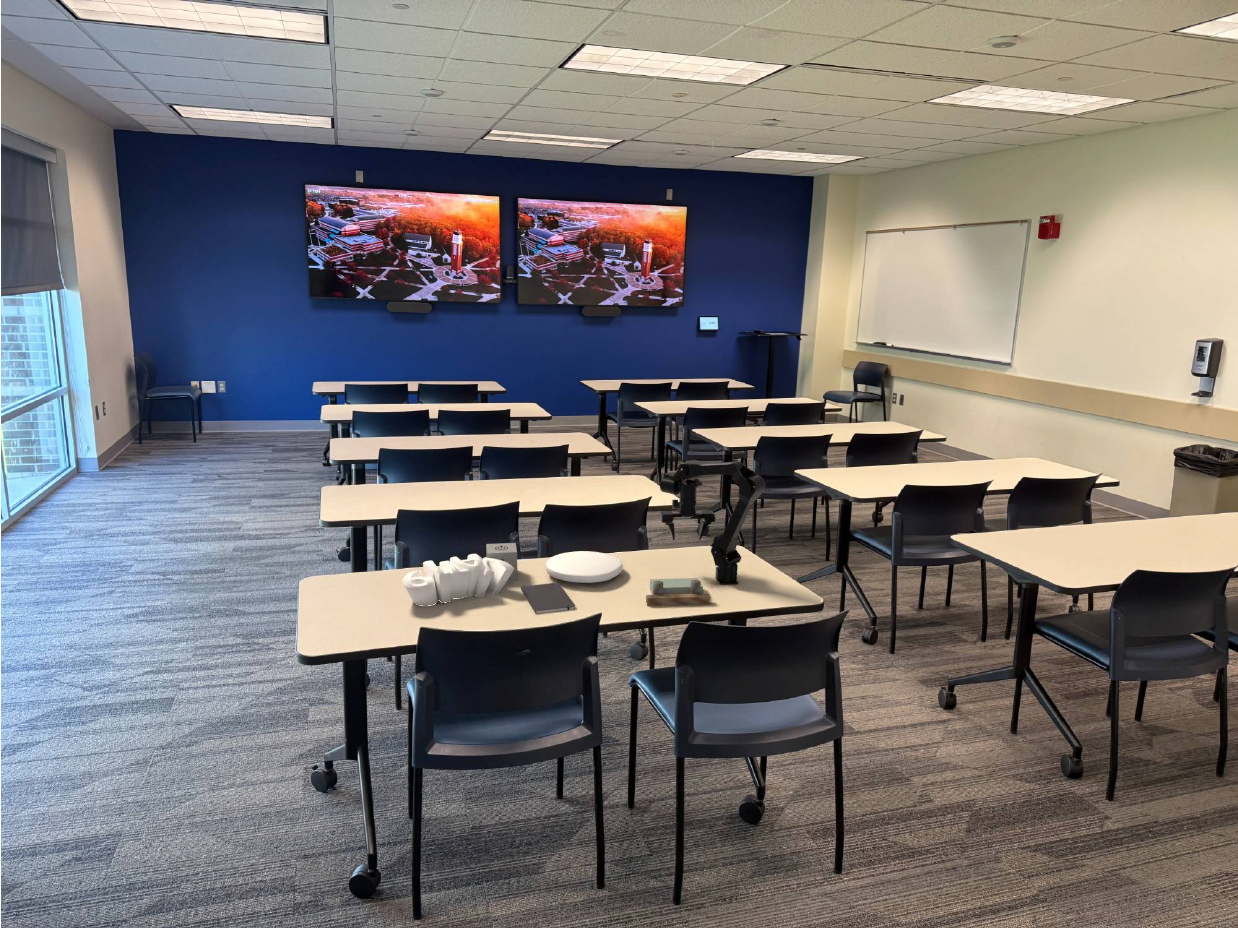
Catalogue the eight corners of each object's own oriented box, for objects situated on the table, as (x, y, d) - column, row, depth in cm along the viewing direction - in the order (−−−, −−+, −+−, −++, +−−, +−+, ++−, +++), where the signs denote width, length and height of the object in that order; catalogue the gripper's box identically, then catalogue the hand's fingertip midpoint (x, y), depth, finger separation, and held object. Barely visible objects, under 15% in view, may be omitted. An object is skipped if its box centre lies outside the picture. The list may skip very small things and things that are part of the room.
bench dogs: (706, 597, 260) (706, 579, 259) (710, 604, 255) (710, 586, 254) (644, 598, 258) (645, 581, 257) (647, 605, 253) (647, 587, 251)
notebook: (520, 590, 265) (535, 615, 246) (520, 586, 265) (535, 610, 245) (558, 586, 269) (576, 610, 250) (558, 582, 269) (576, 605, 249)
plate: (549, 547, 293) (623, 549, 293) (549, 565, 294) (623, 567, 293) (541, 565, 265) (622, 567, 265) (540, 585, 266) (621, 587, 265)
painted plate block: (697, 589, 268) (697, 577, 268) (702, 598, 261) (703, 586, 260) (649, 590, 267) (650, 579, 266) (653, 599, 259) (653, 587, 258)
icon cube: (487, 571, 281) (486, 544, 279) (515, 570, 283) (515, 542, 281) (487, 581, 272) (486, 553, 270) (517, 580, 273) (517, 552, 271)
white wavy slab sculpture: (500, 578, 275) (499, 549, 272) (517, 595, 260) (517, 563, 258) (396, 595, 259) (394, 564, 256) (408, 613, 244) (406, 580, 242)
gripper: (709, 490, 288) (708, 532, 292) (657, 491, 287) (656, 533, 290) (716, 498, 278) (714, 542, 281) (662, 499, 276) (661, 543, 279)
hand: (686, 540), depth 283 cm, fingers open, 9 cm apart
